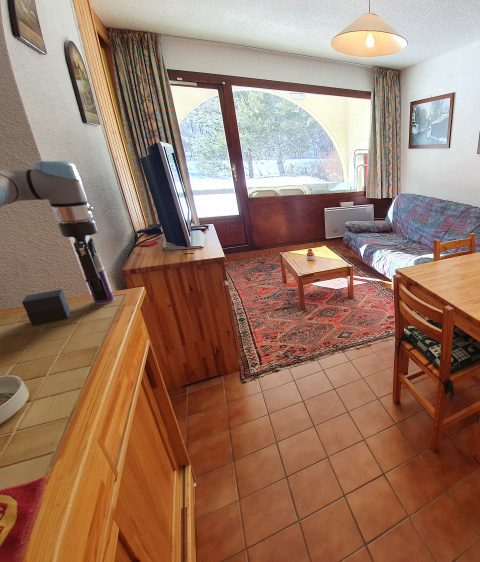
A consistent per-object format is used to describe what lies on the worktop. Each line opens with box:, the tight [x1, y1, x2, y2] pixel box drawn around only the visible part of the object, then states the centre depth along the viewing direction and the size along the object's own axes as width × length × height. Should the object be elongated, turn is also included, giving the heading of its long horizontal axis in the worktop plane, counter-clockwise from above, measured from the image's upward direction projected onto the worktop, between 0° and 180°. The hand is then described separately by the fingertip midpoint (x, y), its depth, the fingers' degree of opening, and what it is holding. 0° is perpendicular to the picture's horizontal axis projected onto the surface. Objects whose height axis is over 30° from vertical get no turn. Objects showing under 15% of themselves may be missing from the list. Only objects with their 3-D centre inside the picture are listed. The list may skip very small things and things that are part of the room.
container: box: [77, 252, 116, 306], centre depth 92 cm, size 5×5×15 cm
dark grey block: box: [21, 288, 68, 315], centre depth 83 cm, size 7×5×4 cm
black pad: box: [26, 300, 71, 327], centre depth 84 cm, size 7×5×4 cm
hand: (103, 296), depth 94 cm, fingers closed on container, 5 cm apart
